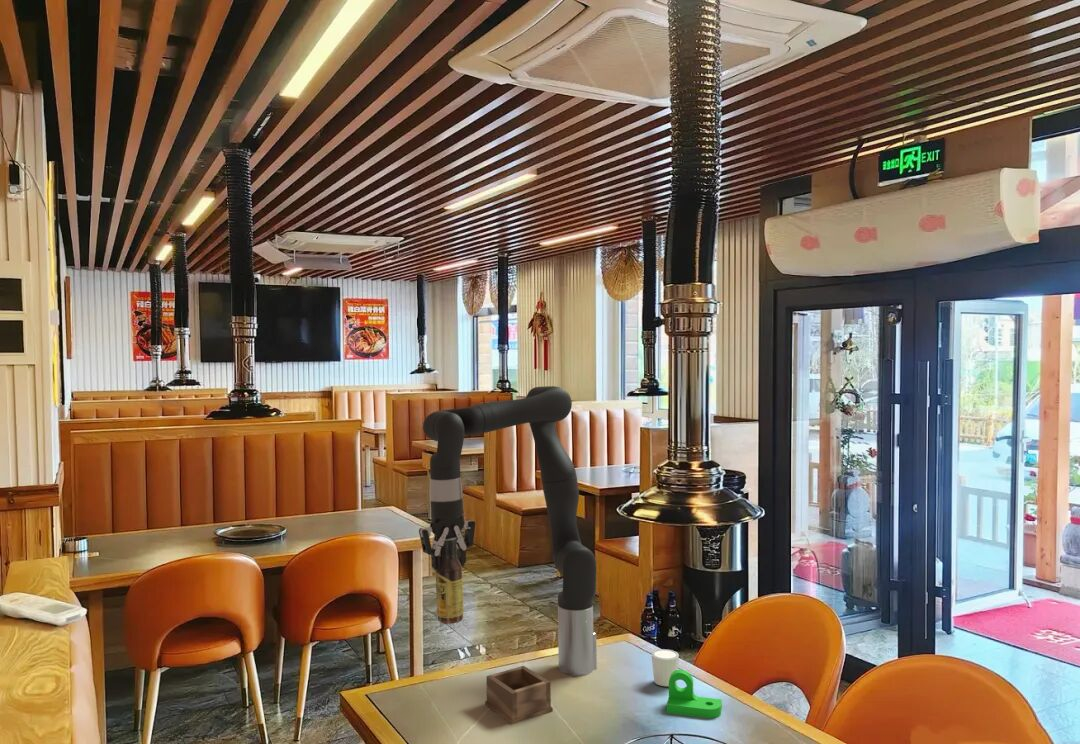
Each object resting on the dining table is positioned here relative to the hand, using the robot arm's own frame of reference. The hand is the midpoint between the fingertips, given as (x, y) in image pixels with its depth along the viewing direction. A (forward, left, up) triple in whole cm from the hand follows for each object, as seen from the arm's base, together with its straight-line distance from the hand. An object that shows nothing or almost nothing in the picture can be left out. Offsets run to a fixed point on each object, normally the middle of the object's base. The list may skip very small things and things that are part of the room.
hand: (449, 567), depth 183 cm
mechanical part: (-45, +35, -33) cm, 66 cm away
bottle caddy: (-12, +11, -33) cm, 36 cm away
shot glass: (-50, +20, -33) cm, 63 cm away
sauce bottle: (0, 0, -13) cm, 13 cm away
